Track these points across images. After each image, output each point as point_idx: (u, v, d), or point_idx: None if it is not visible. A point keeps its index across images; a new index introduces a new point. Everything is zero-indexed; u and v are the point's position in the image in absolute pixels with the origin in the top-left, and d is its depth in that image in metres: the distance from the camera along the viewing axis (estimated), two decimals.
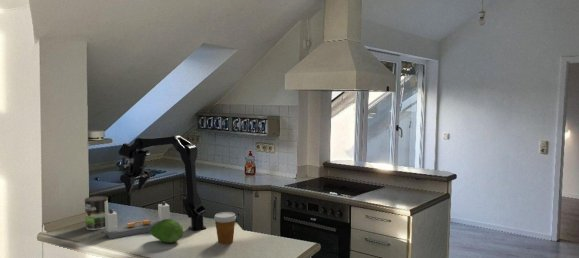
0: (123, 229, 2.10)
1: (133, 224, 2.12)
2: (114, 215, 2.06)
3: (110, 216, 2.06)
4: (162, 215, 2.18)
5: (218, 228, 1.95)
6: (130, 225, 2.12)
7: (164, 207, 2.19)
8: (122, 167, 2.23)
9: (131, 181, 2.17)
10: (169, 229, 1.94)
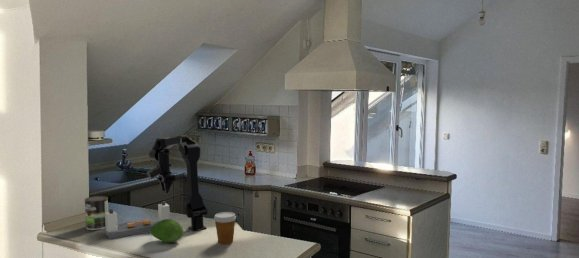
0: (123, 229, 2.10)
1: (133, 224, 2.12)
2: (114, 215, 2.06)
3: (110, 216, 2.06)
4: (162, 215, 2.18)
5: (218, 228, 1.95)
6: (130, 225, 2.12)
7: (164, 207, 2.19)
8: (155, 171, 2.30)
9: None
10: (169, 229, 1.94)
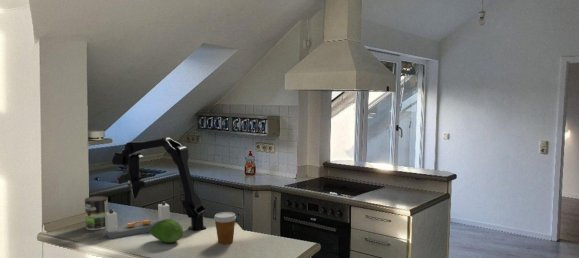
0: (123, 229, 2.10)
1: (133, 224, 2.12)
2: (114, 215, 2.06)
3: (110, 216, 2.06)
4: (162, 215, 2.18)
5: (218, 228, 1.95)
6: (130, 225, 2.12)
7: (164, 207, 2.19)
8: (123, 177, 2.19)
9: None
10: (169, 229, 1.94)
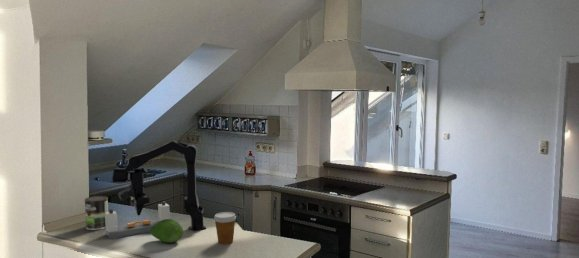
0: (123, 229, 2.10)
1: (133, 224, 2.12)
2: (114, 215, 2.06)
3: (110, 216, 2.06)
4: (162, 215, 2.18)
5: (218, 228, 1.95)
6: (130, 225, 2.12)
7: (164, 207, 2.19)
8: (127, 193, 2.07)
9: None
10: (169, 229, 1.94)
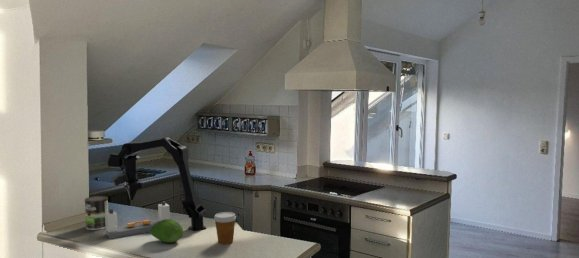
0: (123, 229, 2.10)
1: (133, 224, 2.12)
2: (114, 215, 2.06)
3: (110, 216, 2.06)
4: (162, 215, 2.18)
5: (218, 228, 1.95)
6: (130, 225, 2.12)
7: (164, 207, 2.19)
8: (120, 178, 2.15)
9: None
10: (169, 229, 1.94)
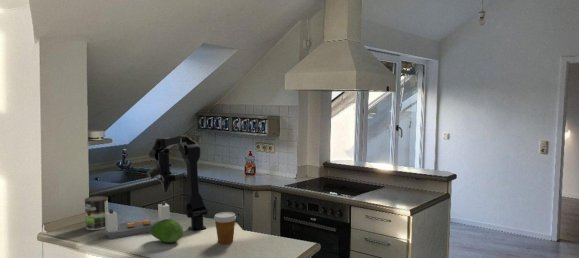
0: (123, 229, 2.10)
1: (133, 224, 2.12)
2: (114, 215, 2.06)
3: (110, 216, 2.06)
4: (162, 215, 2.18)
5: (218, 228, 1.95)
6: (130, 225, 2.12)
7: (164, 207, 2.19)
8: (155, 171, 2.30)
9: None
10: (169, 229, 1.94)
